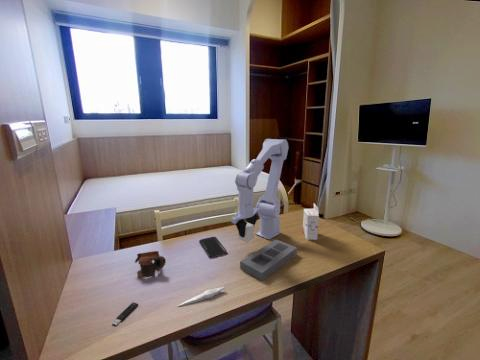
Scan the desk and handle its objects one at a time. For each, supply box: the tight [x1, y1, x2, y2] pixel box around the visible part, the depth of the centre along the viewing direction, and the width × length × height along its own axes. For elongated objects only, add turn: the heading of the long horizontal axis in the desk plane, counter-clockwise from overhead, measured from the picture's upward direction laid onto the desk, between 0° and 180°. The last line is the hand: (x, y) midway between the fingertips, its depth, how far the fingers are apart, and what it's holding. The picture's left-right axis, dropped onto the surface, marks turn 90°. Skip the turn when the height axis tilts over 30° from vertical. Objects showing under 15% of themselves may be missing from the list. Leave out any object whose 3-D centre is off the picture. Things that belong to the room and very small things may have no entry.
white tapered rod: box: [177, 286, 226, 308], centre depth 73 cm, size 15×3×2 cm, turn 116°
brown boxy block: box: [134, 250, 167, 279], centre depth 87 cm, size 12×10×8 cm
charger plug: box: [238, 221, 255, 243], centre depth 98 cm, size 4×4×6 cm
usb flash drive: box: [111, 301, 139, 327], centre depth 68 cm, size 8×2×1 cm, turn 161°
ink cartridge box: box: [302, 202, 320, 241], centre depth 110 cm, size 9×5×15 cm, turn 179°
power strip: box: [239, 239, 298, 281], centre depth 92 cm, size 22×10×3 cm, turn 136°
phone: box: [198, 236, 228, 259], centre depth 102 cm, size 8×1×15 cm
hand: (246, 234), depth 98 cm, fingers closed on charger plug, 4 cm apart
